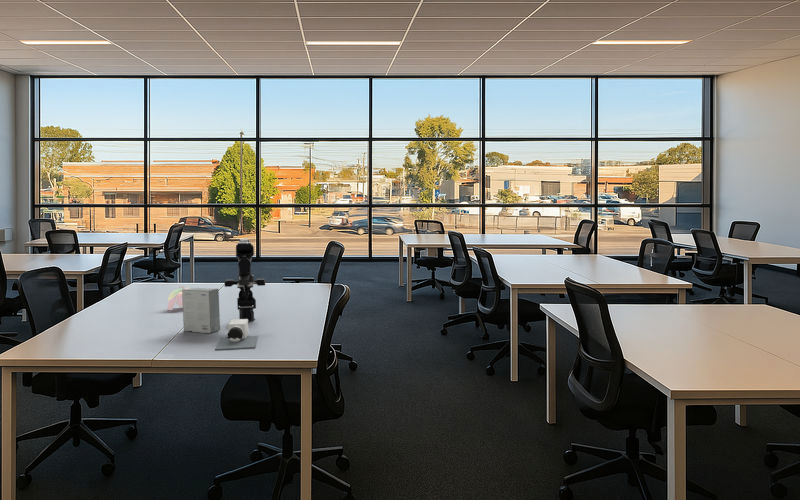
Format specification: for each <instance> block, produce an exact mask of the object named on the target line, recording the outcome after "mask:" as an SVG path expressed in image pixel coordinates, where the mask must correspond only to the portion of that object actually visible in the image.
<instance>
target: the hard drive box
mask: <svg viewBox="0 0 800 500" xmlns="http://www.w3.org/2000/svg"><path fill="white" fill-rule="evenodd" d="M187 288H188V289H184V290H182V300H183V307H182V316H183V317H182V318H183V332H188V331H192V332H191V333H202V334H213V333H216V332H217V331H221V317H220V316H221V315H220V296H219V295H220V294H219V293H220V291H219V288H208V287H187Z"/></svg>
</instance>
